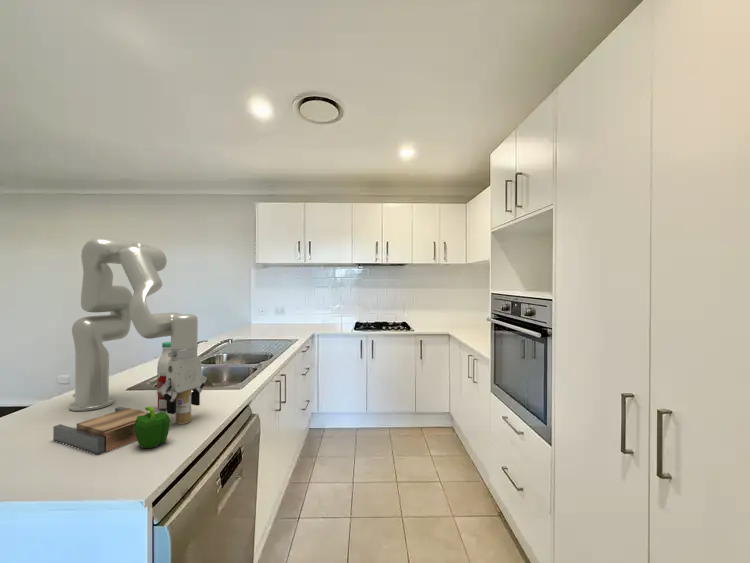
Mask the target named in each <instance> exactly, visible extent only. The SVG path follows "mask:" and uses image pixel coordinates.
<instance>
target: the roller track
mask: <svg viewBox="0 0 750 563" xmlns="http://www.w3.org/2000/svg"><path fill="white" fill-rule="evenodd" d="M114 408H115V409H114V412H117V411H120V410H123V409H127V408H128V407H123V406H118V407H114ZM134 424H135V422H133V423H130V424H127V425H124V426H121V427H118V428H115V429H112V430H109V431H106V432H104V437H103V436H100V435H96V434H93V433H89V432H86V431H82V430H78V429H77V426H75V427H71V426H67V425H64V424H57V425H54V426H53V429H52V430H53V431H52V433H53V435H52V438H53V440H54V441H53V440H52V441H53V442H55V441H57V443H59V442H61V443H60V444H62V443H64V444H63V445H65V444H67V445H66V446H68V445H70V446H69V447H71V446H73V447H72V448H74V447H76V448H75V449H77V448H79V449H78V450H81V449H82V450H81V451H84V450H85V451H84V452H87V451H88V452H87V453H90V452H91V453H90V454H93V453H94V455H96V454H97V455H96V456H99V455H102V454H104V453H107V452H110V450H111V451H113V450H115V448H116V449H118V448H121V447H123V446H122V445H124V446H126V445H128V443H129V444H131V443H134V442H136V441H137V438H136V435H135V429H134ZM133 441H134V442H133ZM130 442H131V443H130ZM125 444H126V445H125ZM120 446H121V447H120ZM117 447H118V448H117ZM112 449H113V450H112ZM101 453H102V454H101Z"/></svg>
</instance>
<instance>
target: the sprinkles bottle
mask: <svg viewBox="0 0 750 563" xmlns="http://www.w3.org/2000/svg"><path fill="white" fill-rule="evenodd" d="M191 392H192V390H188V391H185V392H181V393H177V395H176V413H175V422H174V423H175V424H178V425H183V424H188V423H190V422H191V421H192V404H191Z"/></svg>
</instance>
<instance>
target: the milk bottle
mask: <svg viewBox="0 0 750 563" xmlns="http://www.w3.org/2000/svg"><path fill="white" fill-rule="evenodd" d="M161 349H162V352H161V355H160V357H159V359H158V362H157V366H156V367H157V373H156V374H157V375H156V381H157V382H156V393H157V394H158V379H159V377H160V374H161V373H164V372H167V367H168V362H169V360H170V359H171V357H168V353H170V352H171V341H164V342H162V343H161Z"/></svg>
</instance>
